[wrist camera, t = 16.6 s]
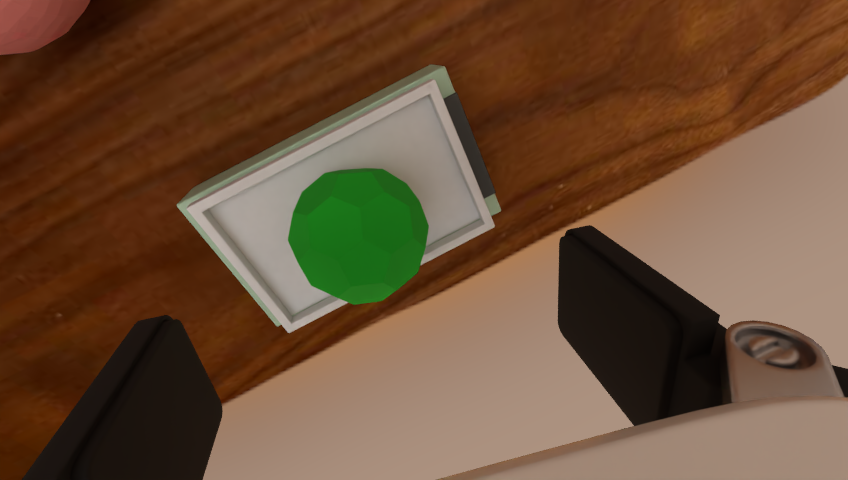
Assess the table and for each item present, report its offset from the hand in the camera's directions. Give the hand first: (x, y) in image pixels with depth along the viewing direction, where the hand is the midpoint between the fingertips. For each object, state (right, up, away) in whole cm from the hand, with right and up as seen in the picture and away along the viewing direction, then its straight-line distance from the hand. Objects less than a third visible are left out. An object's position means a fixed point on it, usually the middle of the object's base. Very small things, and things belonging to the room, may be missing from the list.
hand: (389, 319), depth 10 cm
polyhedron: (-2, +3, +7) cm, 8 cm away
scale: (-3, +4, +10) cm, 11 cm away
